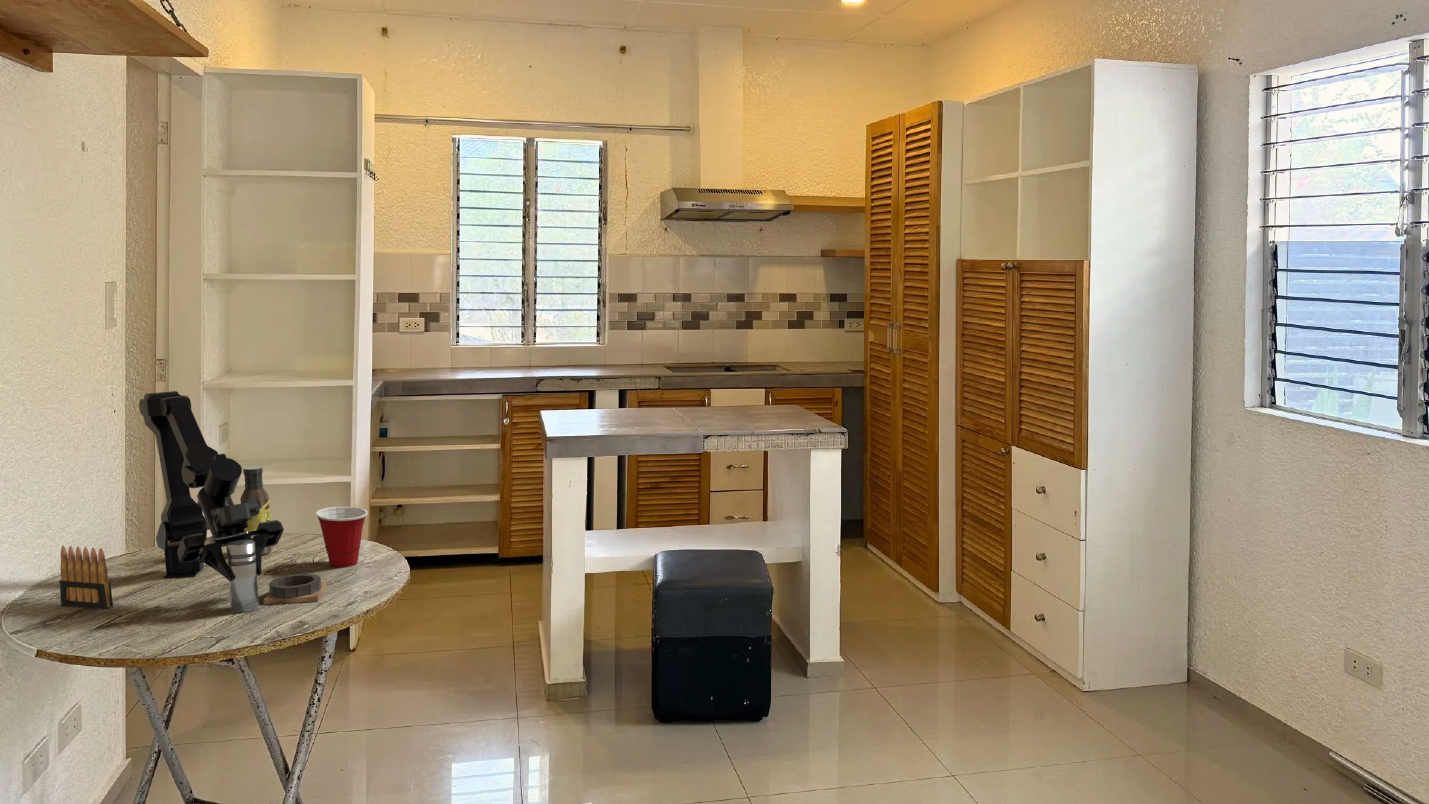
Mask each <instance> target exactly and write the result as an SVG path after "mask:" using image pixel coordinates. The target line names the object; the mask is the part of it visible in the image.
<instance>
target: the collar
mask: <svg viewBox="0 0 1429 804" xmlns="http://www.w3.org/2000/svg"><path fill="white" fill-rule="evenodd" d="M327 586H328V585H327V581H322V577H321V576H319V575H317V574H311V573H296V574H295V573H294V574H288V575H283V576H280V577H277V578H274V579H272V580H271V581H270V582H269V583H268V587H269V592H268V593H267V595H266V596H265V597H264V598H263V605H278V604H279V605H280V604H281V605H282V604H293V603H294V604H296V603H297V604H298V603H311V602H312V603H313V602H314V603H315V602H319V600H320V598H321V596H322V595H323V593H324V592H325V590H326V589H327ZM323 591H324V592H323Z"/></svg>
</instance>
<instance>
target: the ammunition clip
mask: <svg viewBox="0 0 1429 804" xmlns="http://www.w3.org/2000/svg"><path fill="white" fill-rule="evenodd" d="M60 577H61V579H60V580H59V589H60V590H59V592H60V606H61V607H68V608H69V607H70V608H71V607H73V608H83V609H93V610H103V609H106V610H108V608H109V609H111V608H113V607H114V601H113V593H112V585H111V581H109V572H108V567H107V562H106V556H105V553H104V550H103V547H100V548H99V550H98V553H97V551H96V549H95V547H94V546H93V547H92V548H91V550H90V553H89V550H88V548H87V547H86V546H84V547H83V551H81V548H80V546H79V545H78V546H77V547H76V549H75V551H74V548H73V546H72V545H69V547H68V551H67V549H66V546H65V545H64V544H63V545H62V546H61V549H60ZM112 606H113V607H112Z"/></svg>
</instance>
